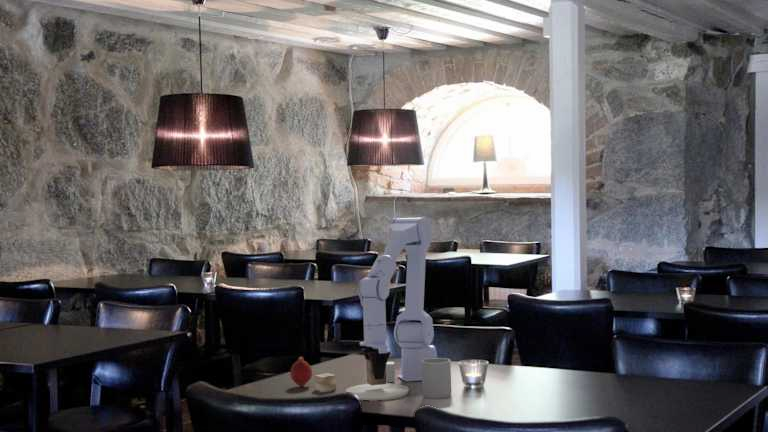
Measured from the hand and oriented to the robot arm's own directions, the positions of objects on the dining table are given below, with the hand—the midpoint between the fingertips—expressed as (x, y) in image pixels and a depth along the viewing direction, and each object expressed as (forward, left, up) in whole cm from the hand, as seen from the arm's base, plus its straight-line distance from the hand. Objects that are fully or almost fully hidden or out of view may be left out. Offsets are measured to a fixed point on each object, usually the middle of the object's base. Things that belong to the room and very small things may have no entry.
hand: (376, 377), depth 250 cm
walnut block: (0, 0, -1) cm, 1 cm away
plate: (0, 0, -4) cm, 4 cm away
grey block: (-7, -15, -4) cm, 17 cm away
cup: (-14, +8, -4) cm, 17 cm away
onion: (+16, -18, -4) cm, 24 cm away
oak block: (+11, -11, -4) cm, 16 cm away
